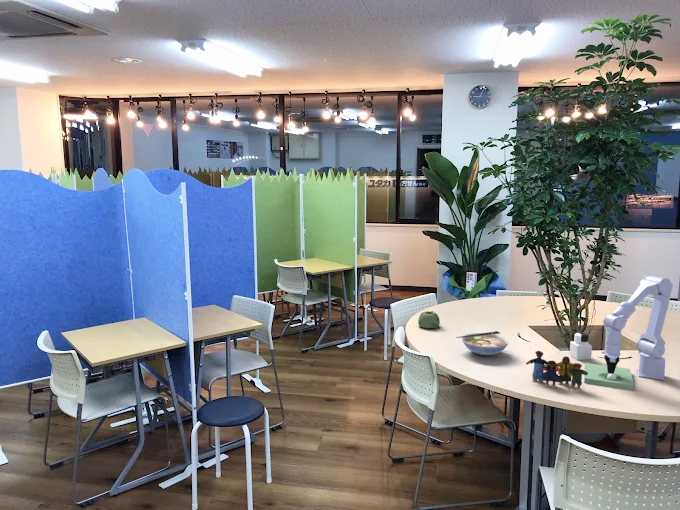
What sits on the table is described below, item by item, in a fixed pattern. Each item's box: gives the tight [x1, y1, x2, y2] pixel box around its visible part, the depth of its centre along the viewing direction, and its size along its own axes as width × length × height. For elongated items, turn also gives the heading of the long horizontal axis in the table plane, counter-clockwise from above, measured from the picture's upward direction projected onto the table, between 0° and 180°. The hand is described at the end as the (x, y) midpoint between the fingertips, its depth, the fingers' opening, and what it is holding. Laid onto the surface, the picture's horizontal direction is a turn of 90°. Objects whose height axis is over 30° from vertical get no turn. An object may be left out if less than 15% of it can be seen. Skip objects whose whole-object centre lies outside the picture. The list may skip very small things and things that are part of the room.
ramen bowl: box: [456, 330, 509, 356], centre depth 243 cm, size 25×23×8 cm
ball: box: [607, 374, 617, 379], centre depth 206 cm, size 4×4×4 cm
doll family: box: [525, 350, 588, 391], centre depth 204 cm, size 23×9×13 cm, turn 75°
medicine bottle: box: [569, 332, 593, 361], centre depth 235 cm, size 7×7×12 cm
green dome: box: [417, 310, 441, 329], centre depth 292 cm, size 16×13×9 cm
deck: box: [583, 362, 635, 391], centre depth 211 cm, size 18×20×2 cm
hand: (610, 373), depth 209 cm, fingers closed
